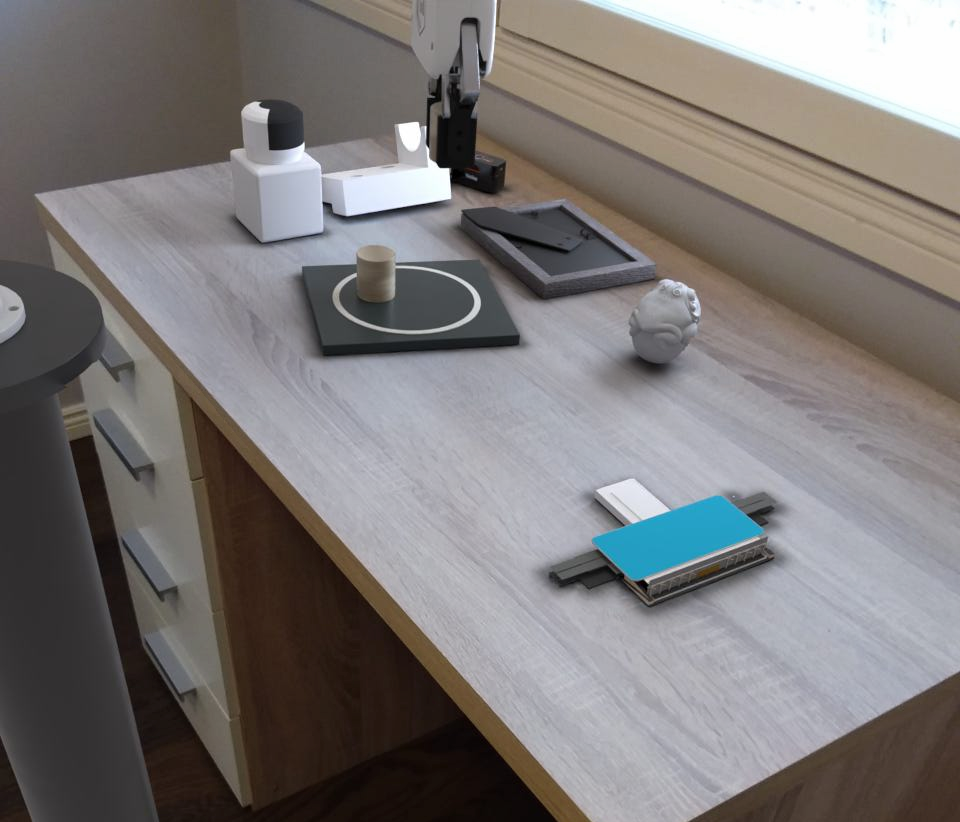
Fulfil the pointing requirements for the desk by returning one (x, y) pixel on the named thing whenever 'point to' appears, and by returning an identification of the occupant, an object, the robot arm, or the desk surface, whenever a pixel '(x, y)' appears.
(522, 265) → the picture frame
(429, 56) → the robot arm
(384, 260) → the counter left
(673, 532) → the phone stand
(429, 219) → the desk surface
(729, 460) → the desk surface
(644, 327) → the frog figurine
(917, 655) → the desk surface
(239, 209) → the security camera
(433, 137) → the beige cylinder
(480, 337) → the slate board
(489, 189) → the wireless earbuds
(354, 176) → the bracket
